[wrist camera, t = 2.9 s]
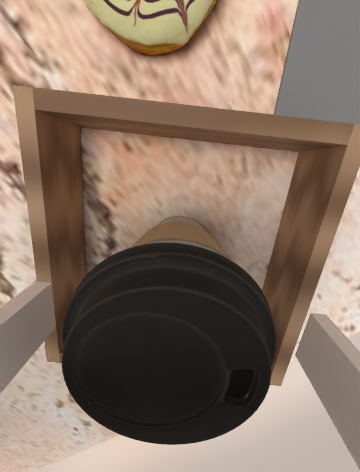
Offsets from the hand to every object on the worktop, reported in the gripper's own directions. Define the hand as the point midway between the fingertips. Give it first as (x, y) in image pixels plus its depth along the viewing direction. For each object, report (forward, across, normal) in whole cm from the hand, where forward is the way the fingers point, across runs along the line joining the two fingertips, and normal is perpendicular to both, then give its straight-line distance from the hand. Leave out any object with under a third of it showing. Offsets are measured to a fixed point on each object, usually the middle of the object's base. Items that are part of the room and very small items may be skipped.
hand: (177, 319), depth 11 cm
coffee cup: (+12, 0, 0) cm, 12 cm away
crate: (+12, 0, 0) cm, 12 cm away
